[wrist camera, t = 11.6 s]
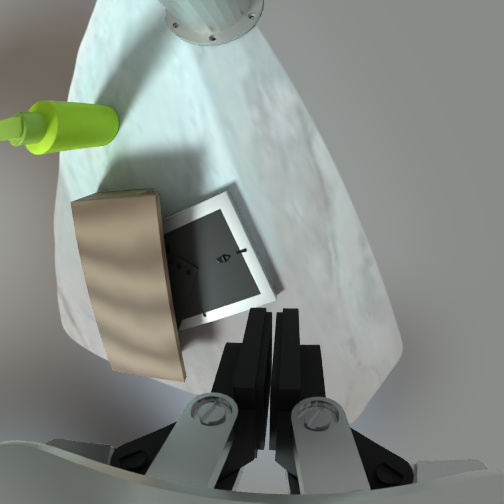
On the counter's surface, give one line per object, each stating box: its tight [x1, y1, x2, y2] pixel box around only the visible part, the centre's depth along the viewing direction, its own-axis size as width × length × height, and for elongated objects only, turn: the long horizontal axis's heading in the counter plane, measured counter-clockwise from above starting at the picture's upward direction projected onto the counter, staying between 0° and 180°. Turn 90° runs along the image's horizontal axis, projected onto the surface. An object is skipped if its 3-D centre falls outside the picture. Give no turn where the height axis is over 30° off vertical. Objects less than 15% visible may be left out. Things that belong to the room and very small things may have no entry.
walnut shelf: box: [71, 188, 186, 382], centre depth 41 cm, size 27×12×6 cm, turn 2°
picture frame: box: [162, 190, 277, 332], centre depth 42 cm, size 16×3×21 cm
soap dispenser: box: [0, 101, 119, 155], centre depth 28 cm, size 6×7×20 cm
